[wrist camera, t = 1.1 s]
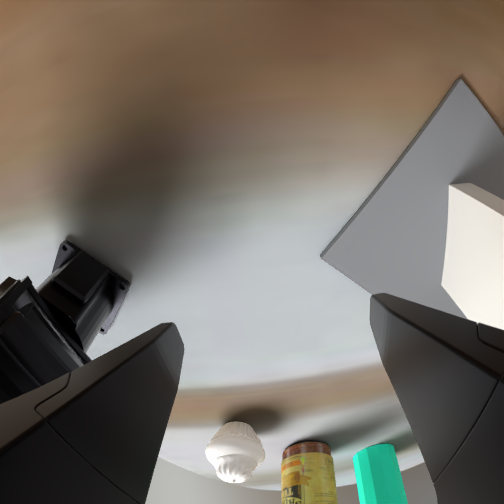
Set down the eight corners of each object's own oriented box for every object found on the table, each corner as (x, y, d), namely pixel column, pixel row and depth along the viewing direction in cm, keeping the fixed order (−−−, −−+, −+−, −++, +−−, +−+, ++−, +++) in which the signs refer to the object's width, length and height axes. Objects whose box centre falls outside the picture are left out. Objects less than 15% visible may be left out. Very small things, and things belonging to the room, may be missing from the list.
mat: (441, 344, 24) (443, 347, 24) (319, 255, 21) (321, 258, 21) (545, 217, 18) (549, 219, 18) (457, 79, 15) (460, 78, 14)
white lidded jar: (234, 406, 29) (228, 466, 22) (277, 428, 30) (278, 483, 24) (198, 426, 31) (189, 479, 24) (240, 446, 32) (236, 495, 26)
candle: (399, 451, 34) (415, 520, 23) (361, 466, 36) (372, 535, 25) (386, 438, 32) (405, 517, 21) (345, 455, 34) (356, 532, 23)
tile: (441, 285, 21) (505, 374, 12) (448, 184, 18) (548, 247, 9) (464, 279, 21) (531, 361, 12) (474, 182, 18) (573, 240, 8)
